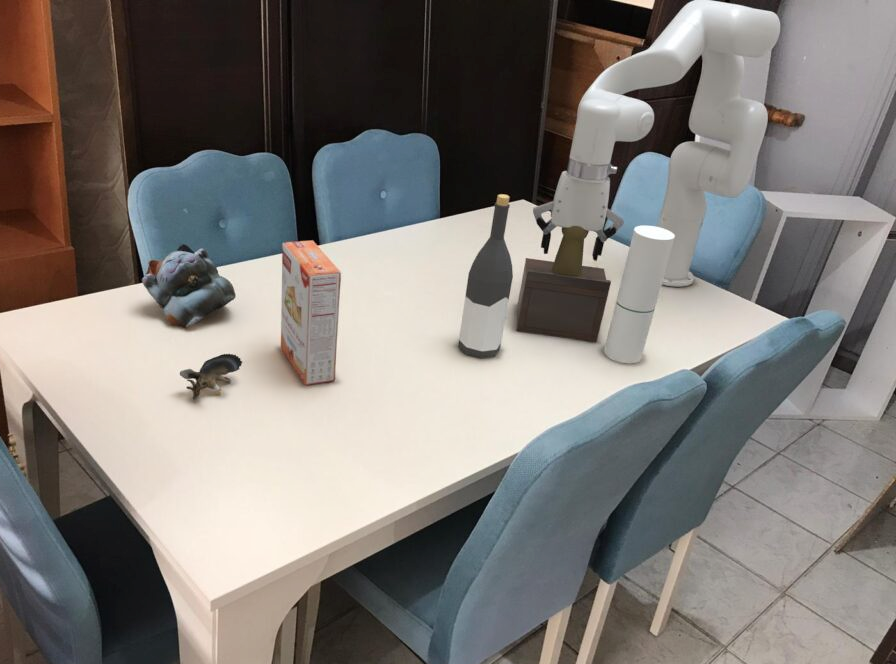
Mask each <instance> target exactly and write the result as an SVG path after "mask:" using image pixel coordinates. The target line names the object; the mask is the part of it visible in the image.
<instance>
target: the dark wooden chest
mask: <svg viewBox="0 0 896 664" xmlns="http://www.w3.org/2000/svg"><path fill="white" fill-rule="evenodd" d="M553 264H554V261H552V260H544V259H536V258H528V257H526V258H525V262H524V266H523V272H522V278H521V284H520V288H519V295H518V300H517V304H516V329H515V331H517V332H522V333H529V334H530V333H531V334H537V335H543V336H551V337H558V338H563V339H570V340H577V341H585V342H591V343H597V342H598V340H599V339H598V338H599V335H600V331H601V326H602V323H603V321H602V320H603V317H604V313H605V309H606V306H607V301H608V297H609V292H610V288H611V285H612V280H610V279H607V276H606V272H605V271H606V270H605V268H602V267H594V266H587V265H582V274H581V276H574V275H567V274H560V273H552V272H551V269H552V267H553Z"/></svg>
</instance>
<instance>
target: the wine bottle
mask: <svg viewBox="0 0 896 664" xmlns="http://www.w3.org/2000/svg"><path fill="white" fill-rule="evenodd" d="M509 202H510V196H509V195H508V194H502V193H500V194H497V198H496V202H494V205H493V207H494V209H493V216H492V223H491V229H490V235H489V238H488V239H487V240H486V242H485V243H484V245H482V247H481V249H480V250H479V251H478V253H477V254H476V256H475V258H474V259H473V261H472V264H471V267H470V269H469V271H468V276H467V283H466V290H465V296H464V304H463V310H462V316H461V322H460V323H461V324H460V329H459V335H458V348H459V349H460V350H461V351H462V353H464V354H465V355H467V356H471V357H474V358H477V359H478V358H479V359H486V358H487V359H488V358H494V357H496V356H497V354H498V353H499V351H500V349H501V345H502V340H503V335H504V329H505V324H506V319H507V313H508V305H509V301H510V296H511V289H512V284H513V278H514V272H513V271H514V270H513V263H512V258H511V254H510V252H509V249H508V246H507V243H506V240H505V233H506V227H507V223H508V222H507V221H508V216H509V215H508V214H509V210H510V207H511V205H510V203H509Z"/></svg>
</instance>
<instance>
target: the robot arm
mask: <svg viewBox="0 0 896 664" xmlns="http://www.w3.org/2000/svg"><path fill="white" fill-rule="evenodd" d="M780 33H781V21H780V17H779V16H778V14H776V13H775V12H773V11H770V10H764V9H758V8H754V7H751V6H750V7H749V6H745V5H742V4H736V3H730V2H723V1H717V0H691V1H690V2H687V3H686V4H685V5H683V7H682V8H681V9H680V10H679V12H678V13H677V14H675V16H674V18H673V19H672V20H671V21H670V22H669V23H668V24H667V26H666V27H665V28H664V29H663V31H662V32H661V33H660V35H658V36H657V38H656V39H655V40H654V42H653V43H652V44H651V45H650V47H648V48H647V49H645V50H643V51H640V52H637V53H634V54H633V55H630V56H628V57H626V58H624V59H622V60H620V61H617V62H616V63H613V64H612V65H610V66H608V67H607V68H606V69H605V70H604V71H602V72H601V73H600V74H599V75H598V76H597V78H596V79H595V80H594V81H593V83H592V84H591V85H590V86H589V87H588V88H587V90H586V91H585V92H584V94H583V96H582V97H581V99H580V101H579V104H578V105H577V106H578V107H577V111H576V112H577V113H576V121H575V126H574V131H573V137H572V142H571V148H570V152H569V157H568V162H567V167H566V170H564V171H562V172H561V174H560V177H559V179H558V182H557V186H556V189H555V193H554V197H553V200H552V201H549V202H546V203H543V204H540V205H537V206H535V207H533V209H532V213H533V216H534V219H535V223H536V225H537V226H538V227H539V229H540V230H541V231H542V237H541V243H540V249H543V255H547V254H548V253H549V248H550V244H551V239H552V231H553V230H554V229H556V228H557V227H558V228H562V227H564V228H568V227H571V226H580V227H582V228H583V229H585V230H587V231H589V232H595V234H596V235H597V236H596V237H595V241H594V245H593V249H592V253H591V254H592V260H593V261H595V262H597V261H598V258H599V256H602V254H603V249H604V244H605V242H607V241H608V239H610V238H611V237H613V236H615V235H616V234H617V232H618V231H619V229H621V227H622V226H623V225H624V223H625V221H624V219H623V218H622V217H621V216H619V215H618V214H617V213H615V212H614V211H613V210H611V209H609V208H608V206H609V198H610V190H611V189H610V188H611V178H610V177H609V176H610V175H612V174H614V175H615V174H616V175H617V171H618V166H616V165H615V166H614V165H613V164H612V163H611V161H612V157H613V156H612V155H613V152H614V147H615V143H616V142H628V143H629V142H630V143H631V142H638V141H639V140H642V139H643V138H645V137H646V136H647V135H648V134H649V132H651V129H652V128H653V126H654V122H655V112H654V109H653V108H652V107H651V105H650V104H648V103H647V102H645V101H644V100H641V99H638V98H634V97H630V96H626V95H624V94H626V93H629V92H632V91H636V90H641V89H649V88H657V87H663V86H667V85H672V84H675V83H677V82H679V81H680V80H682V79H683V77H685V75H686V74H687V73H688V72H689V70H691V67H693V65H694V64H695V62H697V60H698V59H699V58H700V56H701V61H702V67H701V73H700V77H699V82H698V84H697V87H696V92H695V95H694V97H693V98H694V99H693V103H692V106H691V110H690V113H689V119H688V128H689V130H690V131H691V132H692V133H693V134H694V135H696V136H699V137H702V138H705V139H709V140H712V141H716V142H720V143H723V144H727V145H729V146H730V150H729V149H726V148H725V149H724V148H722V147H719V146H715V145H713V144H707V143H704V142H701V141H693V140H692V141H685V142H682V143H680V144H678V145H677V146H676V147H675V148H674V150H673V151H672V153H671V155H670V159H669V164H668V172H667V173H668V174H667V183H666V190H665V195H664V199H663V204H662V207H661V210H660V214H659V219H658V223H657V226H656V227H660V228H663V229H666V230H668V231H670V232H672V233H673V234H674V235H675V237H674V241H673V245H672V248H671V252H670V256H669V259H668V263H667V267H666V270H665V274H664V277H663V281H662V285H661V286H668V287H674V288H675V287H677V288H679V287H681V288H682V287H687V286H690V285H691V284H693V282H694V280H695V279H694V278H695V276H694V274H693V273H692V272H691V271H690V269H691V265H692V260H693V258H694V254H695V251H696V247H697V244H698V241H699V237H700V233H701V231H702V227H703V224H704V220H705V216H706V213H707V199H706V195H705V192H706V193H709V194H711V195H712V194H713V195H716V196H719V197H722V198H727V199H735V198H738V197H739V196H741V195H742V194H743V193H744V192H745V190H746V188H747V186H748V184H749V182H750V180H751V177H752V175H753V171H754V168H755V165H756V163H757V158H758V156H759V154H760V149H761V146H762V143H763V140H764V137H765V134H766V130H767V127H768V120H769V115H768V110H767V108H766V106H765V105H764V104H763V103H761V102H760V101H758V100H754V99H749V98H745V97H742V96H741V95H740V92H741V88H742V84H743V80H744V77H745V73H746V66H745V60H744V57H745V58H755V59H757V58H761V57H764V56H766V55H767V54H769V53H770V52H771V51H772V50H773V49H774V47H775V45H776V44H777V42H778V40H779V37H780V35H781V34H780ZM549 211H550V217H551V218H550V219H549V220H548V221H547V222H546V221H545V219H544V218H543V216H542V214H543V213H546V212H549ZM606 218H607V219H608V220H610V221H612V222H613V223H612V225H610V226H609V227H608V228H606V229H604V226H605V222H606Z"/></svg>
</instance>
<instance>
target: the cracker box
mask: <svg viewBox="0 0 896 664" xmlns="http://www.w3.org/2000/svg"><path fill="white" fill-rule="evenodd" d="M281 247H282V253H281V255H282V256H281V262H282V263H281V303H280V305H281V307H280V308H281V309H280V312H281V315H280V317H281V319H280V348H281V350H282V351H283V353H284V354H285V356H286V358H287V359H288V361H289V362H290V364H291V365H292V367H293V369H294V370H295V372H296V374H297V375H298V376H299V378H300V380H301V381H302V383H303V385H304V386H308V385H309V386H311V385H315V384H322V383H328V382H330V383H331V382H335V381H336V364H337V351H338V350H337V349H338V332H339V316H340V315H339V314H340V300H341V299H340V298H341V282H342V281H341V280H342V272H341V270H340V269H339V268H338V267H337V266H336V265H335V264H334V262H332V260H331V259H330V258H329V257H328V256H327V255H326V254H325V252H324V251H323V250H322V249H321V248H320V247H319V246H318V244H317V243H316V242H315V241H314V240H313V239H312V240H300V241H299V240H298V241H286V242H282V246H281Z"/></svg>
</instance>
